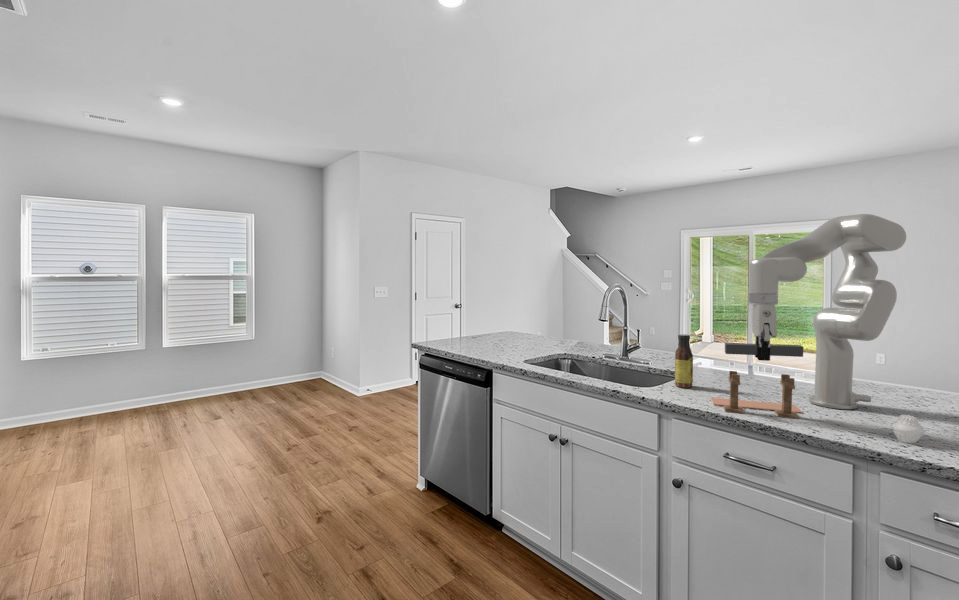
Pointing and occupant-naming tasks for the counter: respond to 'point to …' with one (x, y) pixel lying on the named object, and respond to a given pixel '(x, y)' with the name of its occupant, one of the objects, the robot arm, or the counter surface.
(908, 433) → the muffin
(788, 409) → the hook stands
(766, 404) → the mat
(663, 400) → the counter surface
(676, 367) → the sauce bottle
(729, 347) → the rail
